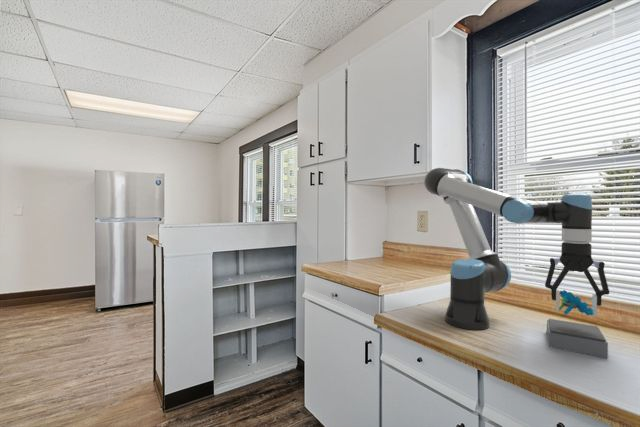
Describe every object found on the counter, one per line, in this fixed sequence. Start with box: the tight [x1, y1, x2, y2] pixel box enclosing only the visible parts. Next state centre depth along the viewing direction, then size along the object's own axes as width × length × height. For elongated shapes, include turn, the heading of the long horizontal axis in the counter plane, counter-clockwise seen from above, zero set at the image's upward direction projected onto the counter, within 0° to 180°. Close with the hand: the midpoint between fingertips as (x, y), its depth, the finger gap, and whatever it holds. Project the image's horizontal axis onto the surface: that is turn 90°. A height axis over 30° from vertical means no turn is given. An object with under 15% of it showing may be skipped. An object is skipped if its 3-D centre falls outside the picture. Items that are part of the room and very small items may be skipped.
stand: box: [546, 318, 609, 359], centre depth 104 cm, size 14×15×5 cm
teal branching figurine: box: [559, 289, 594, 317], centre depth 104 cm, size 11×6×10 cm
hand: (575, 312), depth 104 cm, fingers closed on teal branching figurine, 9 cm apart
